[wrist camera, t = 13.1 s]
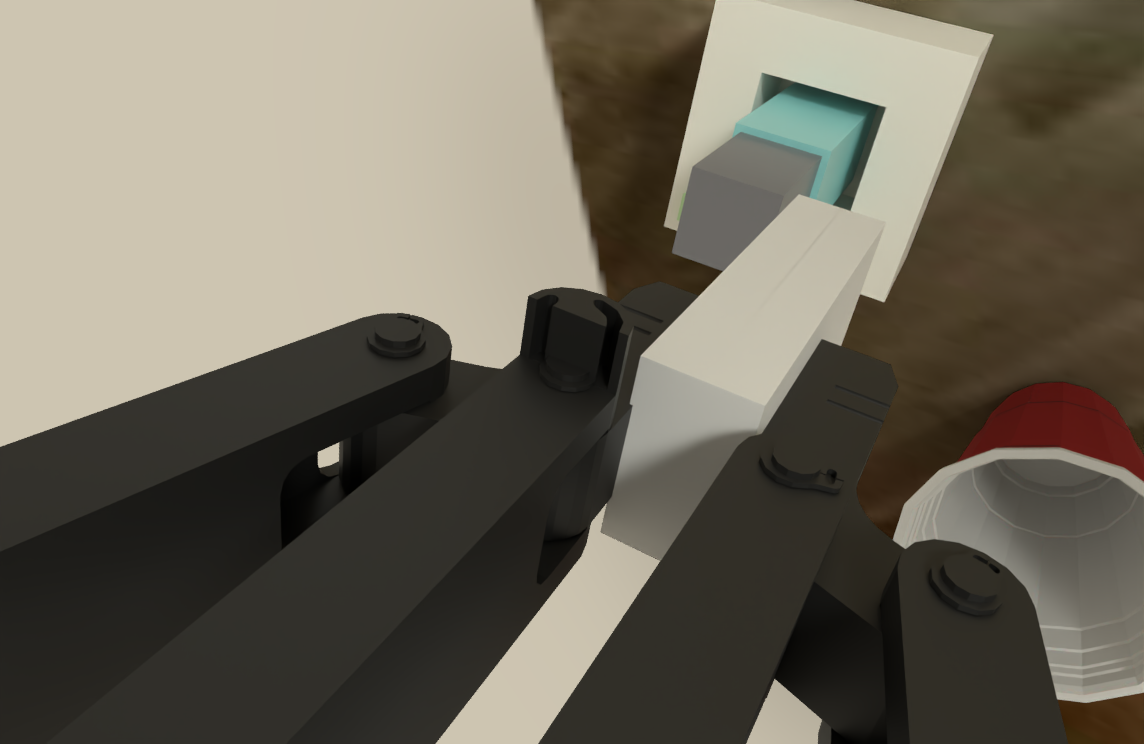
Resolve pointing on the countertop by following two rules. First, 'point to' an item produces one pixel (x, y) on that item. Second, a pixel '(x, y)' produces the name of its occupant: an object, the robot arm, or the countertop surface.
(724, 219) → the plug
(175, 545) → the robot arm
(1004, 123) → the countertop surface
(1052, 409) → the plastic cup
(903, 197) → the port
